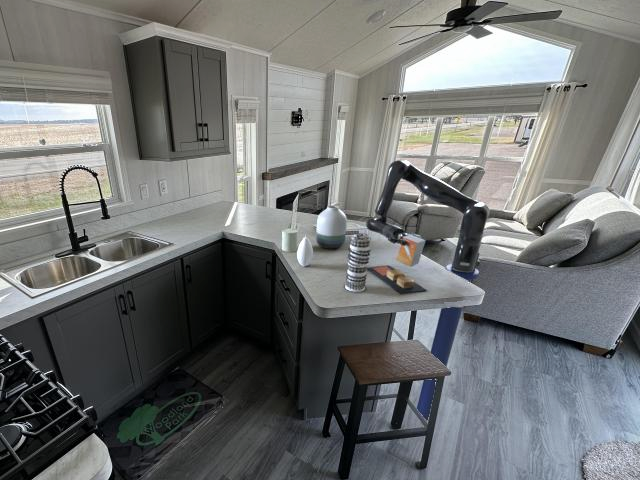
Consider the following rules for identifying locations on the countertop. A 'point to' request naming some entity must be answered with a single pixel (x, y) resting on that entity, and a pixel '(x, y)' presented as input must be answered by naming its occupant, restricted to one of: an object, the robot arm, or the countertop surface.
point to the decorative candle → (358, 262)
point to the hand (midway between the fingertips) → (413, 243)
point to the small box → (411, 250)
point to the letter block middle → (394, 274)
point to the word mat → (382, 274)
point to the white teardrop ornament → (305, 252)
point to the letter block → (405, 282)
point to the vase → (331, 228)
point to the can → (289, 240)
